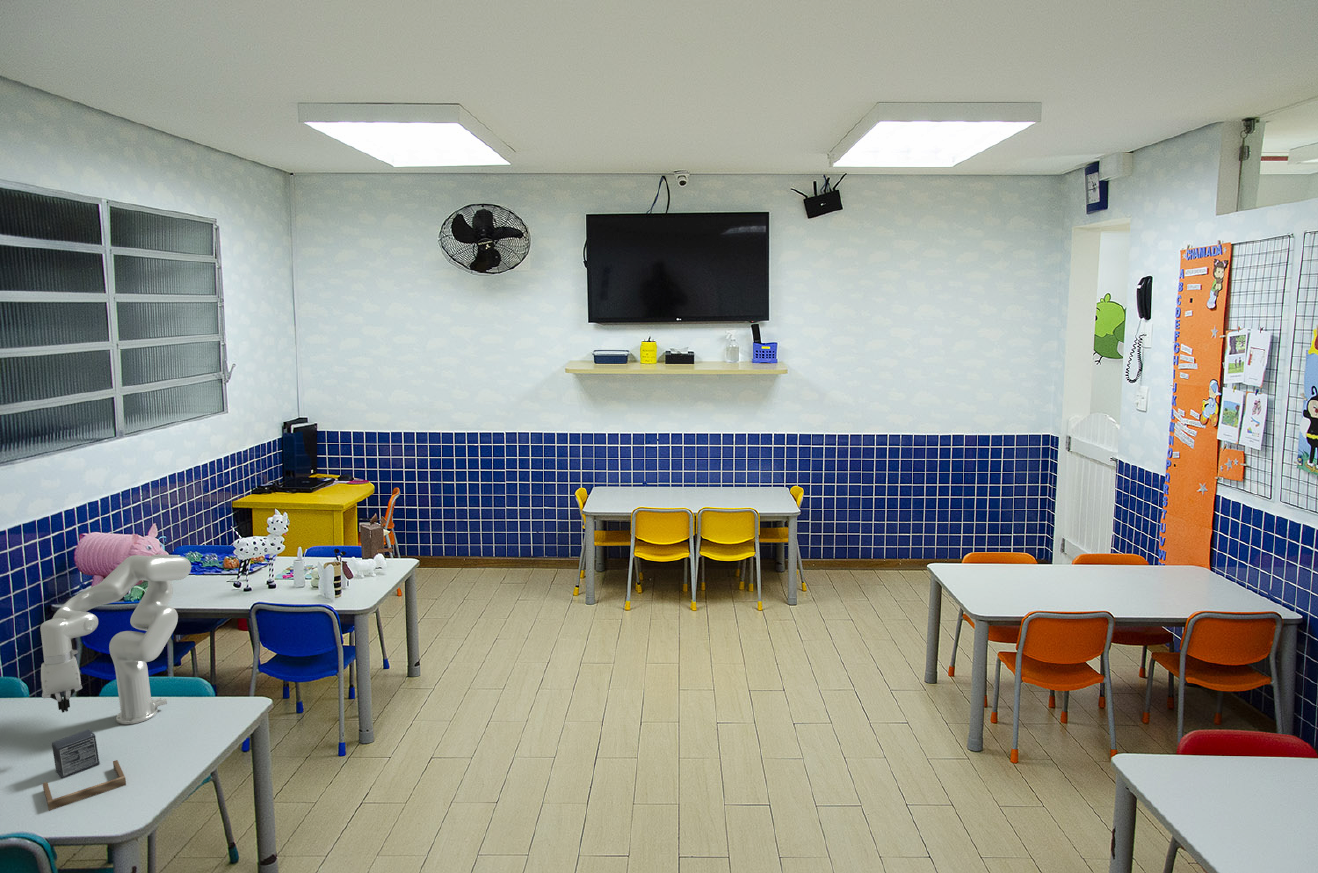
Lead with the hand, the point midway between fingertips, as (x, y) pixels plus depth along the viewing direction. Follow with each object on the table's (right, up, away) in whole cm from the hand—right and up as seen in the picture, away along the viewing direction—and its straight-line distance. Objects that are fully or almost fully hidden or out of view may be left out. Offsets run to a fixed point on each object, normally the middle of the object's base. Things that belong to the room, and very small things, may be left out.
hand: (64, 710), depth 275 cm
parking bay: (+18, -18, -17) cm, 31 cm away
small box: (+9, -17, -7) cm, 20 cm away
